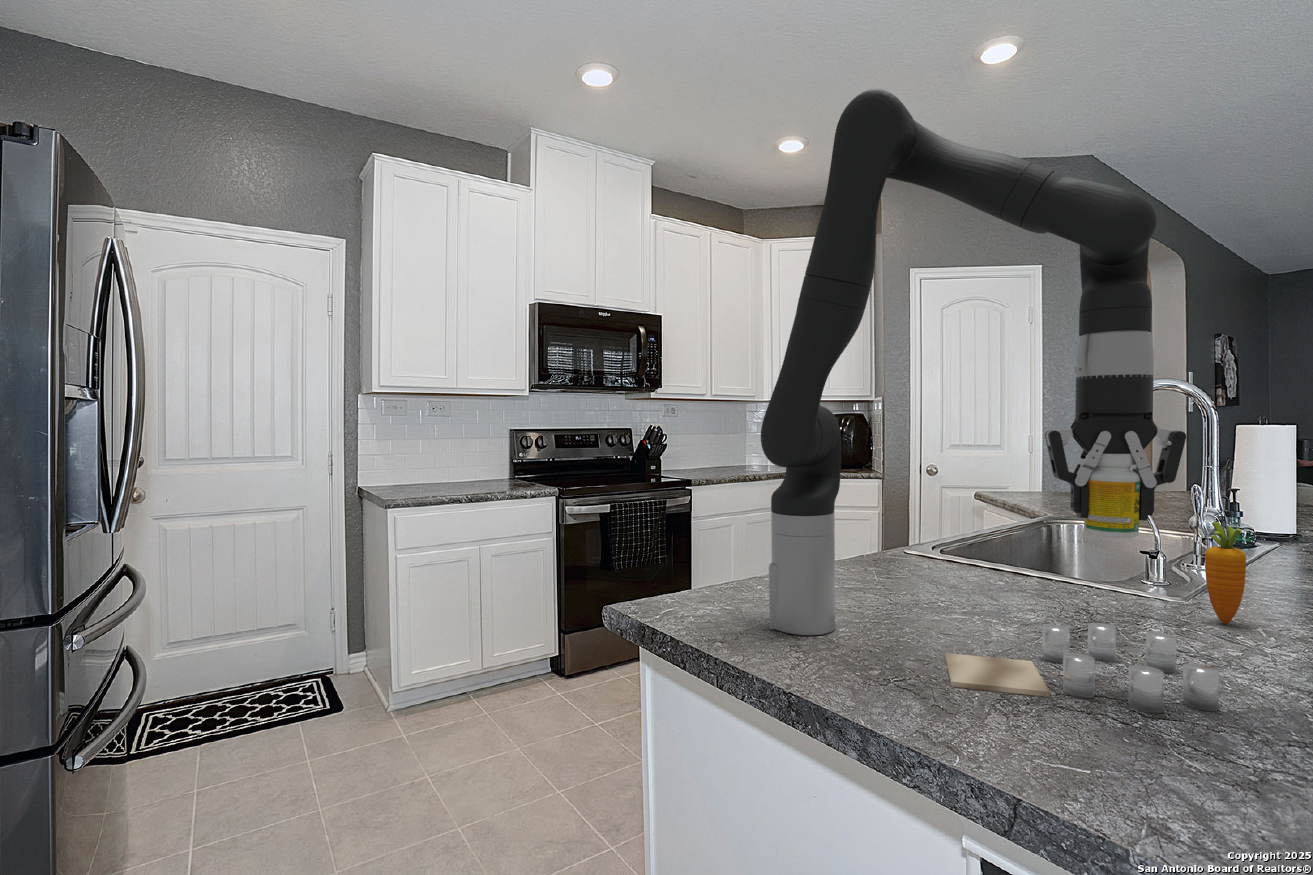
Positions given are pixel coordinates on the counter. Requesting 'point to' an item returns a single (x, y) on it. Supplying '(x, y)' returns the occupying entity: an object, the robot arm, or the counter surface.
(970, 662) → the pad
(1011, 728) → the counter surface
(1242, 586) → the carrot
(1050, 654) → the spacer posts
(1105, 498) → the supplement bottle
